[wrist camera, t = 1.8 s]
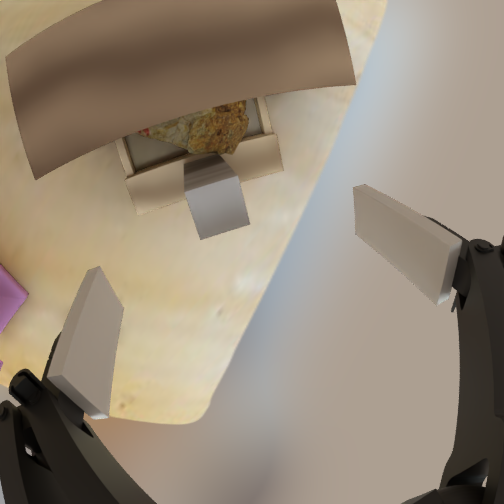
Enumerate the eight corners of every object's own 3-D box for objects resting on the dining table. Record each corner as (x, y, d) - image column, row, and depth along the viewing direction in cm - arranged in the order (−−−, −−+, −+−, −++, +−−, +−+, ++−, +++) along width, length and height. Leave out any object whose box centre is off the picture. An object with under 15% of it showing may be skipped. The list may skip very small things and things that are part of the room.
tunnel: (76, 74, 20) (5, 56, 8) (264, 19, 22) (324, -32, 10) (96, 148, 24) (35, 180, 12) (282, 92, 26) (356, 85, 14)
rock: (157, 120, 29) (98, 137, 21) (172, 51, 24) (113, 44, 16) (250, 146, 28) (213, 170, 20) (274, 70, 23) (244, 56, 15)
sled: (98, 73, 20) (47, 53, 10) (244, 31, 22) (286, -14, 11) (141, 207, 29) (120, 266, 18) (276, 166, 30) (329, 200, 19)
